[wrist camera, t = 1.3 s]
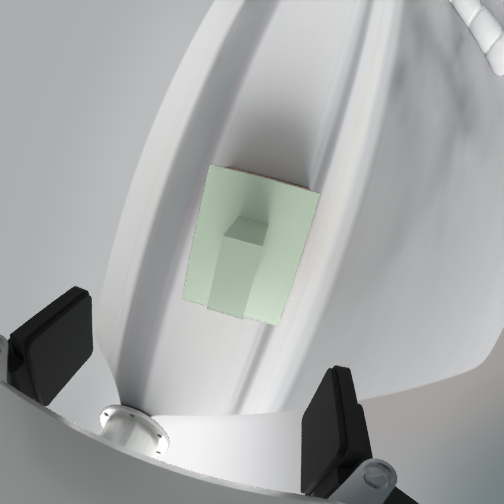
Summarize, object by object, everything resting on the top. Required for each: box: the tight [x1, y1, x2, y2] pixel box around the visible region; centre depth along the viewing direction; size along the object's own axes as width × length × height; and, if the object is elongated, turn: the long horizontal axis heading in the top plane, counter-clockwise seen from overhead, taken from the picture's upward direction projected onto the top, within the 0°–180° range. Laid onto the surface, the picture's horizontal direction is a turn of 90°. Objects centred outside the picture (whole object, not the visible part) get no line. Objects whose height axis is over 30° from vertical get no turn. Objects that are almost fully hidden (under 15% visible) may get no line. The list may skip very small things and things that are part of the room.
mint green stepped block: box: [182, 165, 320, 326], centre depth 23 cm, size 12×9×8 cm
